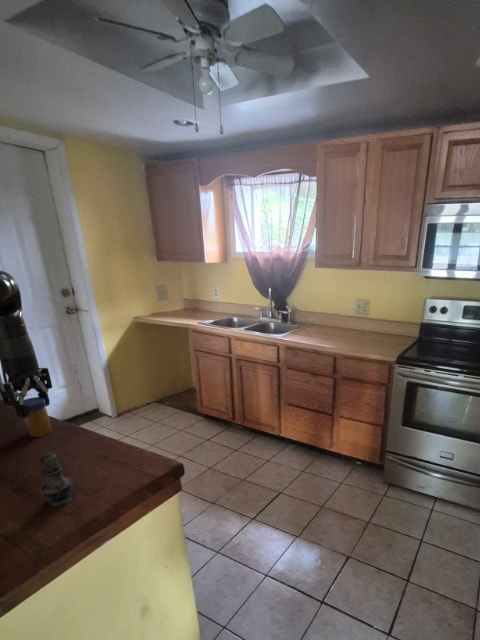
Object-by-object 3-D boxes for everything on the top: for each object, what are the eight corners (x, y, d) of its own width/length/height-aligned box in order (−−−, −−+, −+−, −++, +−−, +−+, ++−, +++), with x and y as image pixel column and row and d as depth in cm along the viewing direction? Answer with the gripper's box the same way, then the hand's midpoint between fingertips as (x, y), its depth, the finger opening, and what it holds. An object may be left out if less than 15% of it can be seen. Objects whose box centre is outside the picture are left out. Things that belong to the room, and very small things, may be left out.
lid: (14, 410, 99) (12, 405, 98) (32, 402, 104) (30, 396, 104) (34, 412, 98) (32, 406, 97) (51, 403, 103) (49, 397, 103)
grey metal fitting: (81, 495, 81) (68, 448, 76) (54, 511, 76) (38, 461, 71) (66, 487, 84) (52, 440, 79) (38, 501, 79) (22, 453, 74)
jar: (25, 440, 103) (14, 406, 99) (41, 431, 108) (31, 398, 103) (43, 441, 102) (33, 407, 98) (57, 432, 107) (48, 399, 103)
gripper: (26, 345, 102) (42, 400, 109) (-22, 360, 89) (-1, 421, 96) (51, 346, 101) (66, 401, 108) (5, 361, 88) (25, 423, 95)
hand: (34, 410), depth 102 cm, fingers open, 7 cm apart
